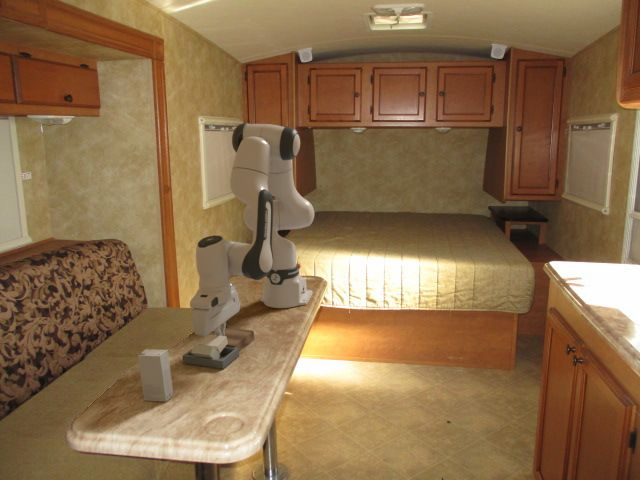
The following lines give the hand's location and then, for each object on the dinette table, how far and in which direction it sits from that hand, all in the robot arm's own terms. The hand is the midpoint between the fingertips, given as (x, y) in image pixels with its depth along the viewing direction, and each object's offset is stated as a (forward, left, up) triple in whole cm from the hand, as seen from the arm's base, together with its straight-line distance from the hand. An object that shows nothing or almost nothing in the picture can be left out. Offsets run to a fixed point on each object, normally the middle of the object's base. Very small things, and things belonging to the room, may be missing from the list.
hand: (220, 337), depth 153 cm
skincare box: (+28, -1, -5) cm, 29 cm away
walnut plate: (-5, 0, -5) cm, 7 cm away
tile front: (+7, 0, -1) cm, 7 cm away
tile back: (+3, 0, -2) cm, 4 cm away
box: (+5, 0, -5) cm, 7 cm away
